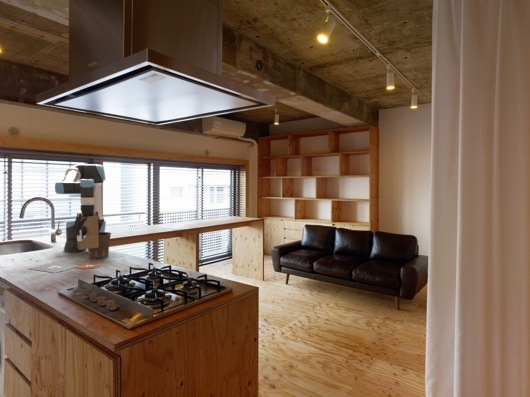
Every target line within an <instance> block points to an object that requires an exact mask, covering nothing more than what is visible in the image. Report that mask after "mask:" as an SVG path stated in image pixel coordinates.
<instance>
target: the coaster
mask: <svg viewBox="0 0 530 397" xmlns="http://www.w3.org/2000/svg"><path fill="white" fill-rule="evenodd" d="M98 266H99V267H100V266H101V263H100V262H85V263H80V264H77V266H76V267H75V268H76V269H78V270H91V269H95V268H98Z"/></svg>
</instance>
